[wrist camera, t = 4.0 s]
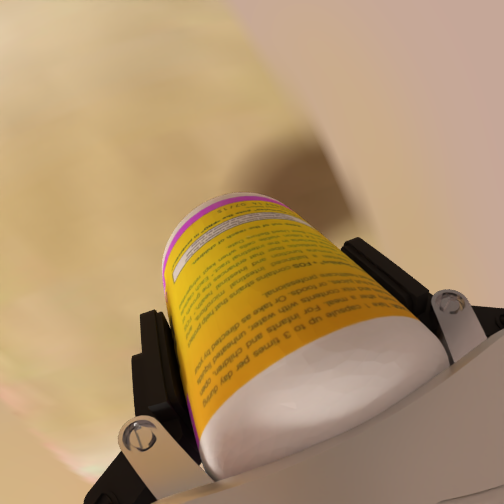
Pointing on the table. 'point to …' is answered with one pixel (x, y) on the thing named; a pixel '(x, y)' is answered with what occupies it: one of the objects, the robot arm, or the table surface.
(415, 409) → the robot arm
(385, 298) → the supplement bottle
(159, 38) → the table surface
